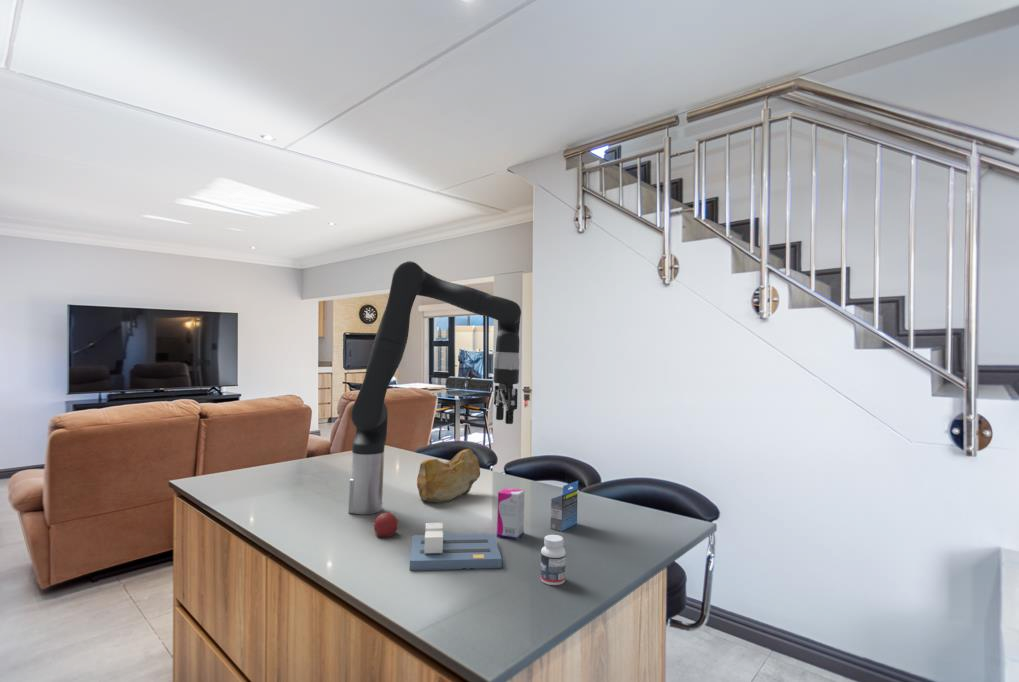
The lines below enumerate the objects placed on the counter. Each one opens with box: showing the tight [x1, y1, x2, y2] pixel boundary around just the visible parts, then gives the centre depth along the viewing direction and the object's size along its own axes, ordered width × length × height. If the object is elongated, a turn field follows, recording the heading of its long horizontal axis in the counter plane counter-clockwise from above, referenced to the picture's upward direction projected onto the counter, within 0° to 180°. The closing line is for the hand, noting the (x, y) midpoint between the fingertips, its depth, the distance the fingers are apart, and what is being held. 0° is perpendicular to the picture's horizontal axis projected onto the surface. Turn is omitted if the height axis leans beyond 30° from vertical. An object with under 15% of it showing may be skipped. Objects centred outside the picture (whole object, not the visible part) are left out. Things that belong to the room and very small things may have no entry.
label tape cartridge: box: [550, 480, 579, 532], centre depth 143 cm, size 9×4×12 cm, turn 145°
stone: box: [416, 448, 481, 503], centre depth 172 cm, size 23×17×15 cm
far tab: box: [424, 522, 444, 532], centre depth 123 cm, size 4×4×4 cm
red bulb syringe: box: [370, 512, 399, 538], centre depth 132 cm, size 6×6×8 cm
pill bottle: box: [539, 534, 567, 586], centre depth 108 cm, size 5×5×9 cm
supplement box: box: [496, 487, 526, 540], centre depth 135 cm, size 6×6×12 cm
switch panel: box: [409, 533, 503, 571], centre depth 120 cm, size 20×16×2 cm
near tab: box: [424, 530, 444, 553], centre depth 117 cm, size 4×4×4 cm
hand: (504, 421), depth 154 cm, fingers open, 8 cm apart
